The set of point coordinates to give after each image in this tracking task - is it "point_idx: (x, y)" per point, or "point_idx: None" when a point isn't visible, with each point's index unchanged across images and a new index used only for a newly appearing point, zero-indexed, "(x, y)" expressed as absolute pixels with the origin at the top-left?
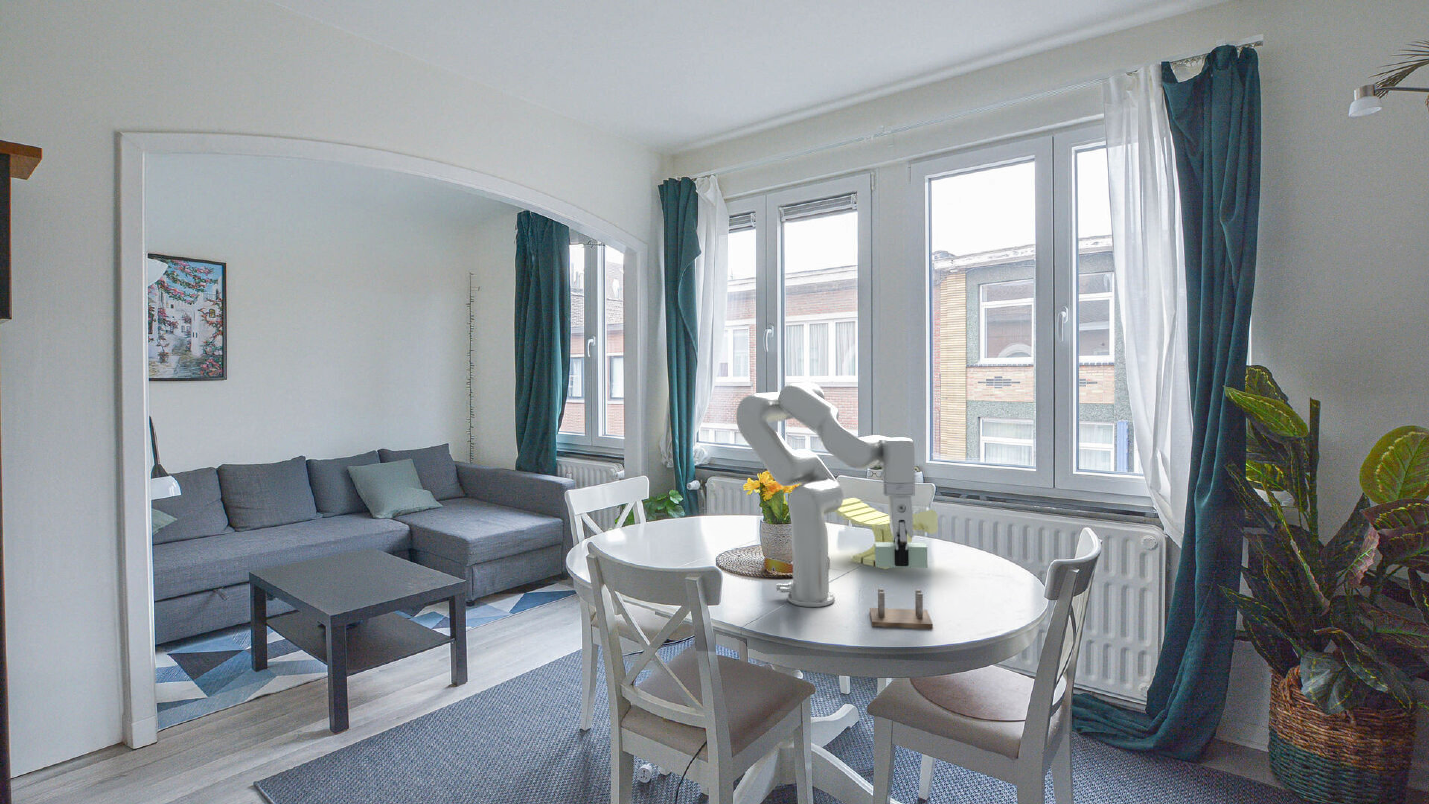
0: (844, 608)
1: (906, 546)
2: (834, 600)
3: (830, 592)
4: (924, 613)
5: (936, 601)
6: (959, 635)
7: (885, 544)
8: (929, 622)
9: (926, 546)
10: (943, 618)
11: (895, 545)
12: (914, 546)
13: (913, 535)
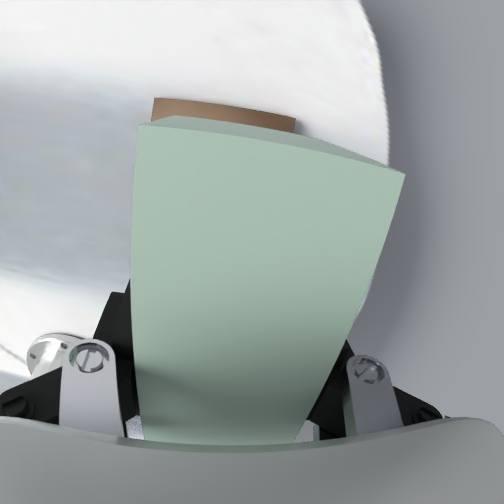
0: None
1: (384, 387)
2: (73, 337)
3: (40, 343)
4: (192, 114)
5: (42, 51)
6: (345, 64)
7: None
8: (281, 123)
9: (373, 169)
10: (198, 54)
11: (255, 430)
12: (336, 309)
13: (493, 424)
